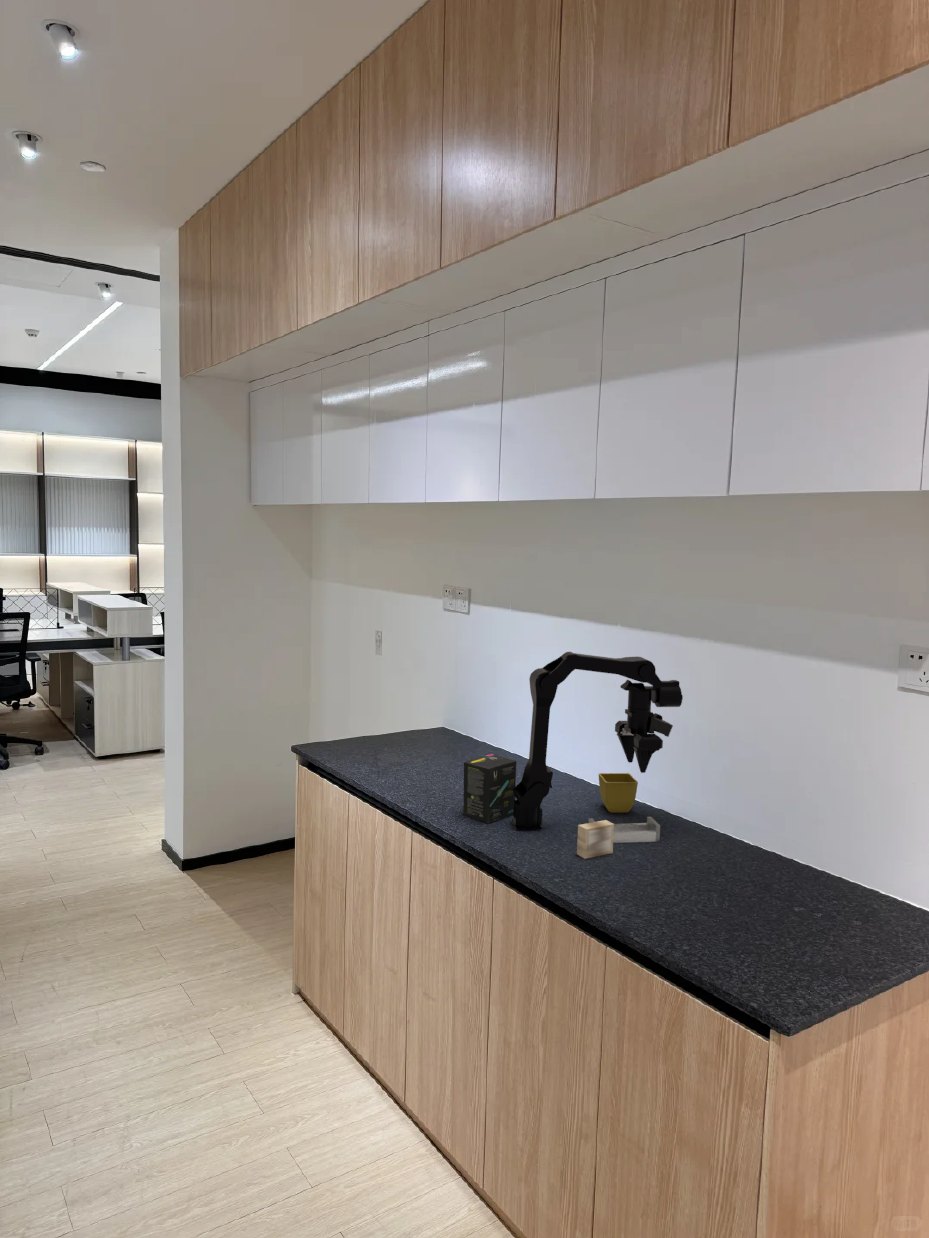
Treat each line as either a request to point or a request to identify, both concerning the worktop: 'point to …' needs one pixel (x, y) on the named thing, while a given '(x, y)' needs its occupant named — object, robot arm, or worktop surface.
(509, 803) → the tampon box
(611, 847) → the door panel
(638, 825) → the bottom track
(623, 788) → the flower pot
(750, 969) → the worktop surface
